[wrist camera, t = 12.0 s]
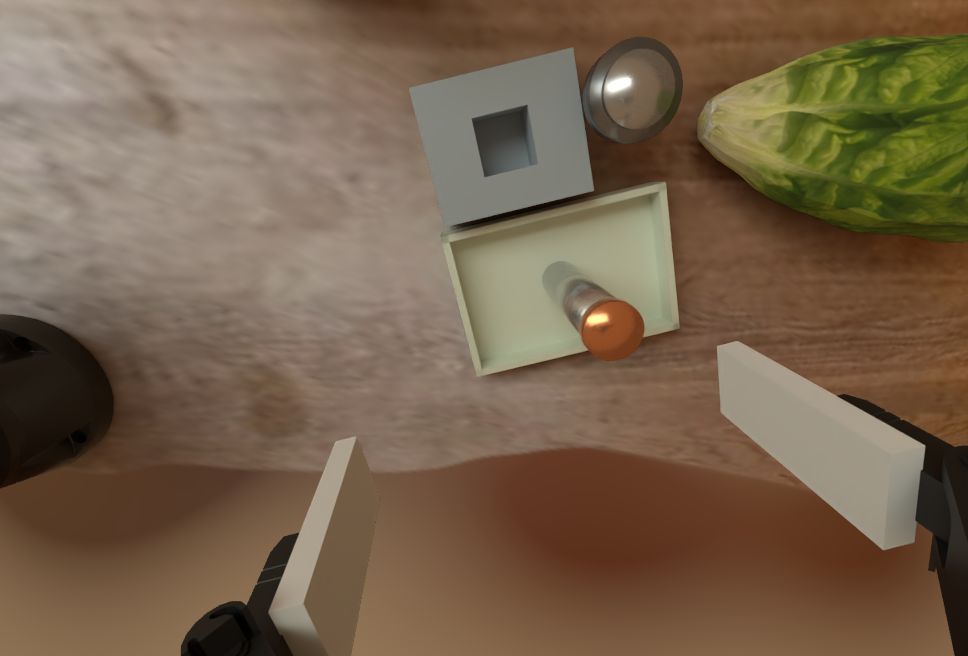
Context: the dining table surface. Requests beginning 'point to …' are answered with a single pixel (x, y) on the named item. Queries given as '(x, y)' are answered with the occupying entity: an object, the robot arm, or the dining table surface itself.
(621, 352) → the pin
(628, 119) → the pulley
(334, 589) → the robot arm
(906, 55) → the lettuce
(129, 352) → the dining table surface
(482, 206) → the block
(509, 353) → the tray
